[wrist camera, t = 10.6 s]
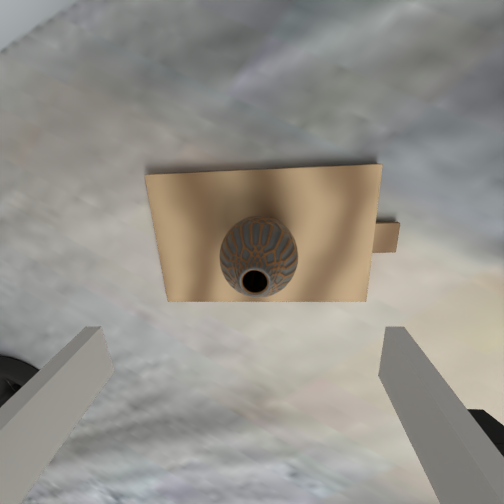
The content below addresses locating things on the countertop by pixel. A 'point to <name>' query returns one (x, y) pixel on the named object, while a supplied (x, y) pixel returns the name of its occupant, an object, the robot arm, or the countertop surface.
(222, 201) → the board
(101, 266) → the countertop surface
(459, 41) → the countertop surface
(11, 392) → the robot arm
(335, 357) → the countertop surface
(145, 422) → the countertop surface
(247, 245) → the vase
